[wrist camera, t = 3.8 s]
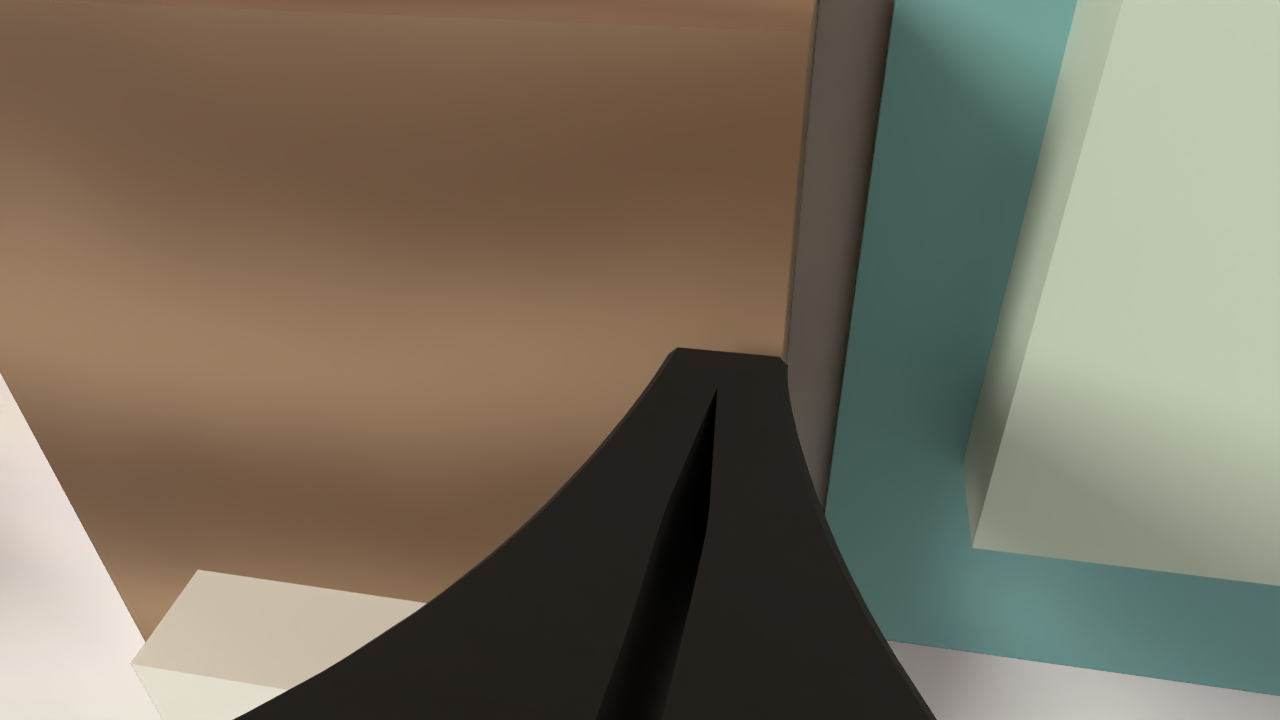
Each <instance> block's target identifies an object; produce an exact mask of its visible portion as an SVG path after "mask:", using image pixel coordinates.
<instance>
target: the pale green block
mask: <svg viewBox="0 0 1280 720" xmlns="http://www.w3.org/2000/svg"><path fill="white" fill-rule="evenodd" d="M963 471H964V480H965V489H966V499H967V508H968V517H969V526H970V535H971V544H972V548H977V549H985V550H993V551H1001V552H1009V553H1017V554H1025V555H1033V556H1041V557H1050V558H1058V559H1066V560H1074V561H1082V562H1090V563H1098V564H1106V565H1114V566H1122V567H1131V568H1139V569H1147V570H1155V571H1163V572H1171V573H1179V574H1187V575H1195V576H1203V577H1211V578H1220V579H1228V580H1236V581H1244V582H1252V583H1260V584H1268V585H1276V586H1280V0H1078V1H1077V5H1076V9H1075V13H1074V17H1073V21H1072V25H1071V29H1070V33H1069V37H1068V41H1067V45H1066V49H1065V53H1064V57H1063V61H1062V65H1061V69H1060V73H1059V77H1058V81H1057V85H1056V89H1055V93H1054V97H1053V102H1052V106H1051V110H1050V114H1049V118H1048V122H1047V126H1046V130H1045V134H1044V138H1043V142H1042V146H1041V150H1040V154H1039V158H1038V162H1037V166H1036V170H1035V174H1034V178H1033V182H1032V186H1031V190H1030V194H1029V198H1028V203H1027V207H1026V211H1025V215H1024V219H1023V223H1022V227H1021V231H1020V235H1019V239H1018V243H1017V247H1016V251H1015V255H1014V259H1013V263H1012V267H1011V271H1010V275H1009V279H1008V283H1007V287H1006V291H1005V295H1004V299H1003V304H1002V308H1001V312H1000V316H999V320H998V324H997V328H996V332H995V336H994V340H993V344H992V348H991V352H990V356H989V360H988V364H987V368H986V372H985V376H984V380H983V384H982V388H981V392H980V396H979V400H978V405H977V409H976V413H975V417H974V421H973V425H972V429H971V433H970V437H969V441H968V445H967V449H966V453H965V457H964V461H963Z"/></svg>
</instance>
